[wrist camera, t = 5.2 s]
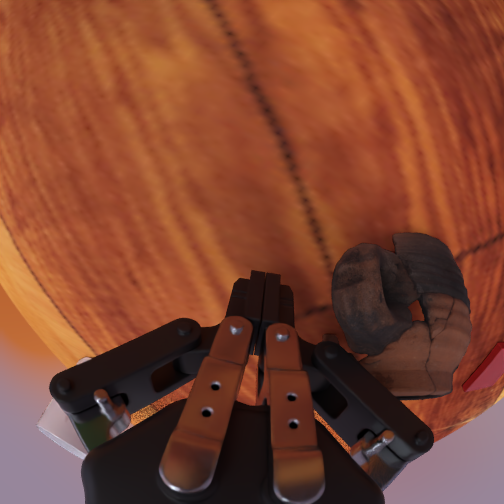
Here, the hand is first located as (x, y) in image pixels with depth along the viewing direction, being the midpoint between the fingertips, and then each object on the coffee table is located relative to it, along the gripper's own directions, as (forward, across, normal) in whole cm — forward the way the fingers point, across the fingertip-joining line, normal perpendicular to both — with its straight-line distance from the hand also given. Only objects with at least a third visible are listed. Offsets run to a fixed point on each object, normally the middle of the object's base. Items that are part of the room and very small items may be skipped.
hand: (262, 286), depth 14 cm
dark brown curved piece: (+1, -7, 0) cm, 7 cm away
